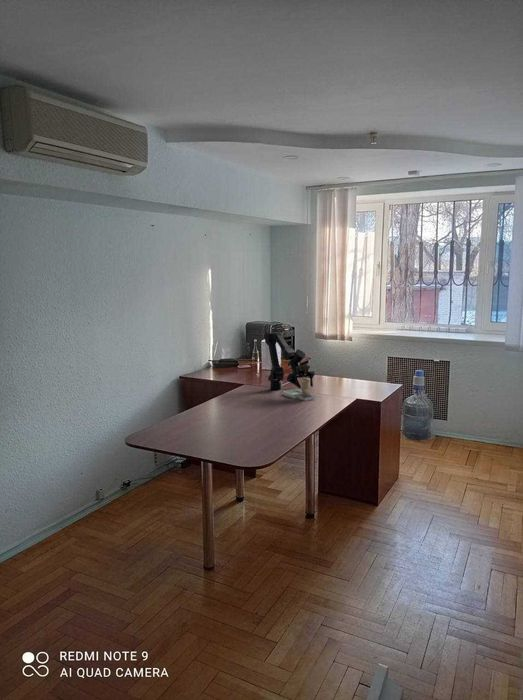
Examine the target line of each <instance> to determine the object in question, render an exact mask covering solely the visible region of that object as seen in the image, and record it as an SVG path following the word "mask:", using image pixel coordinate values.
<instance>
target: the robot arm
mask: <svg viewBox="0 0 523 700" xmlns="http://www.w3.org/2000/svg"><path fill="white" fill-rule="evenodd" d="M263 338H264V342H265V344H266V345H267V346H268V350H269V356H270V357H269V358H270V362H271V369H270V374H269V376H268V379H267V380H268V381H269V383H270V388H269V391H277V392H278V391H280V390H282V383H281V381H283V380H284V376H285V371H284V367H282V366H281V365H280V361H279V357H278V356H279V355H278V349H277V345H278V346H279V348H280V349H281V351H282V356H283V358H284V360H285V361H288V363H287V366H288V367H290V368H291V373H289V374H288V376H287V377H286V381H287V382H288V383H290V384H292V385H294V386H295V387H297V388H299V389H302V385H301V384H300V383H299V380H298V379H302V378H310V388H313V387H314V383H313V378H314V377H315V375H316V373H315V371H313V370H310V371H308V370H309V369H311V366H310V364H309V363H306V364H300V363H302V362H303V360H304V359H305V358H306V354H305V352H304V351H302V350H301V349H296V351H295V350H294V349H293V348H292V347H290V346H289V344H288V343H287V341H286V339H284V337H283V335H282V333H281V332H275V331H274V332H273V331H271V332H266V333H265V334H264V336H263Z"/></svg>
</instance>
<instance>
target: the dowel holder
mask: <svg viewBox="0 0 523 700" xmlns="http://www.w3.org/2000/svg"><path fill="white" fill-rule="evenodd" d="M297 399H298V400H300V401H304V402H306V401H307V402H308V401H314V400H315V396H314V395H312V394H310V397H302V395H297V398H296V400H297Z"/></svg>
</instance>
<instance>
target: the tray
mask: <svg viewBox="0 0 523 700" xmlns="http://www.w3.org/2000/svg"><path fill="white" fill-rule="evenodd" d="M282 395H283V396H285V397H287V398H290V399H297V395H302V389H291V390H283V391H282Z"/></svg>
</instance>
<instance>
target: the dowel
mask: <svg viewBox="0 0 523 700" xmlns="http://www.w3.org/2000/svg"><path fill="white" fill-rule="evenodd" d="M301 379H302V380H301V391H302V397H310V395H311V386H310V378H305V377H304V378H301Z"/></svg>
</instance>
